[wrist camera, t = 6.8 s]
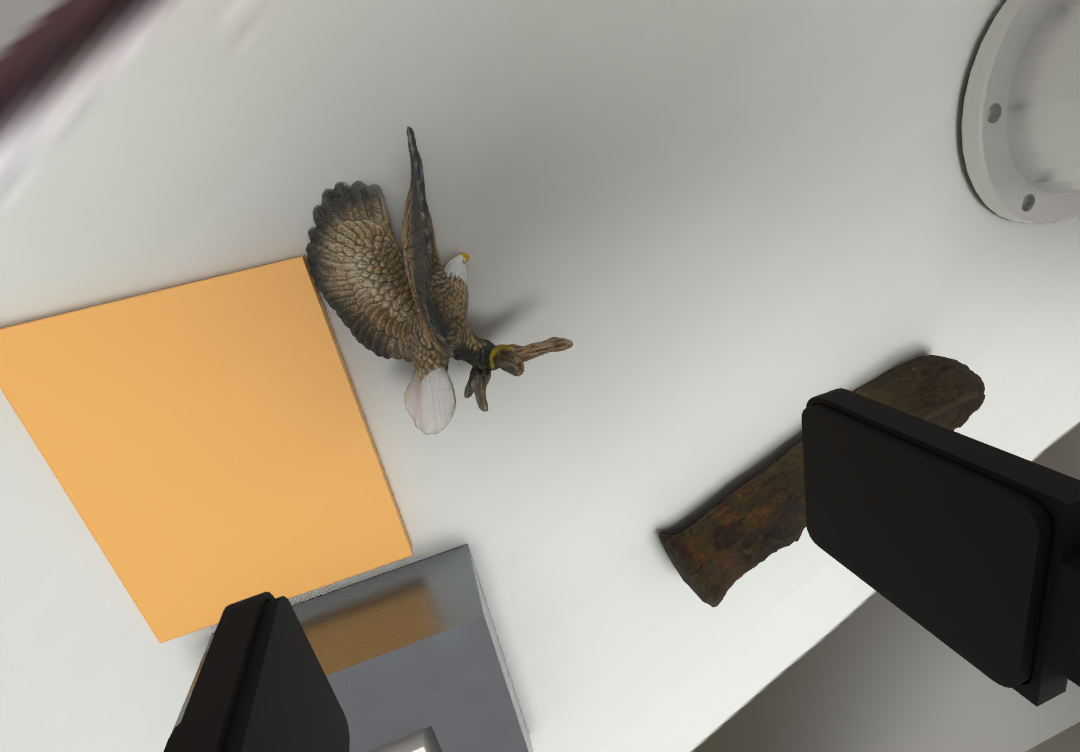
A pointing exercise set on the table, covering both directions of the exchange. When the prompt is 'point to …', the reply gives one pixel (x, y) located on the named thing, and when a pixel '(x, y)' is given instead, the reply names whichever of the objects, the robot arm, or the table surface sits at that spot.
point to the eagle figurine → (406, 295)
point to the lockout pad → (208, 441)
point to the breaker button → (413, 743)
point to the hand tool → (779, 491)
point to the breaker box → (415, 658)
